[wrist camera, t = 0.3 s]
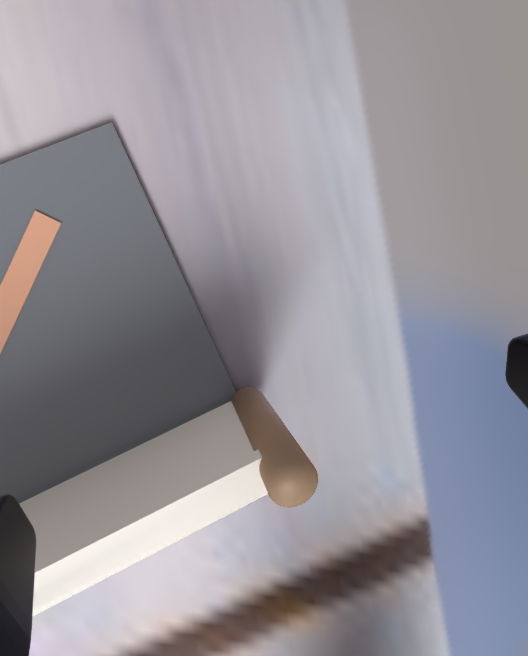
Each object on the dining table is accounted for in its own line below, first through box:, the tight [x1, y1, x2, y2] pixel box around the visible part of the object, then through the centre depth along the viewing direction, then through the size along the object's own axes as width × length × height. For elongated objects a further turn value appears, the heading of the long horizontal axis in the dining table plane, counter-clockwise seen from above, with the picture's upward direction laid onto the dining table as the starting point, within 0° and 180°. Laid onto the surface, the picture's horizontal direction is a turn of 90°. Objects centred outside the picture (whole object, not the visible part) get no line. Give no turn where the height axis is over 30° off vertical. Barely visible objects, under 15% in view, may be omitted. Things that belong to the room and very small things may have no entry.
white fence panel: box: [19, 386, 318, 616], centre depth 18 cm, size 19×2×9 cm, turn 113°
